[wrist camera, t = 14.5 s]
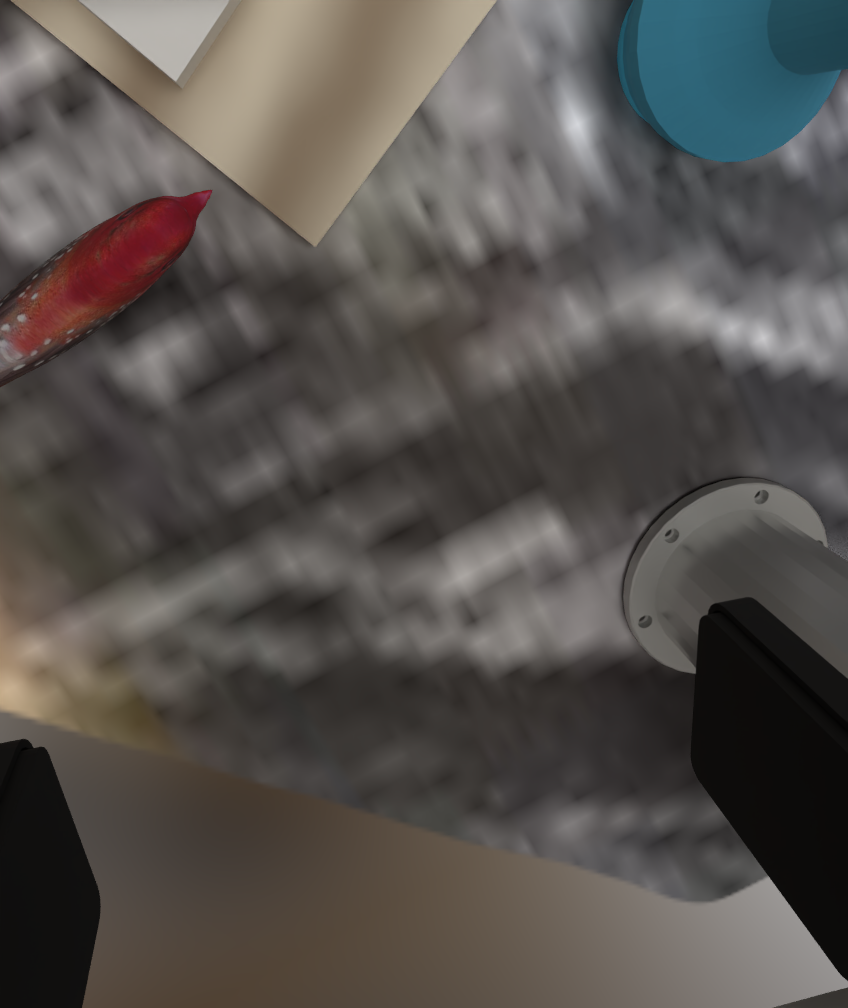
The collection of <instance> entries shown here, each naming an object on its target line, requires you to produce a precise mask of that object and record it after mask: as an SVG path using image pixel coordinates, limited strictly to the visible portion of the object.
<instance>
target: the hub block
mask: <svg viewBox="0 0 848 1008" xmlns="http://www.w3.org/2000/svg"><path fill="white" fill-rule="evenodd" d="M77 1H78V2H79V3H80V4H82V5H83V6H84V7H85V8H86V9H88V10H89V11H90V12H91V13H92V14H93V15H95V16H96V17H97V18H98V19H99V20H101V21H102V22H103V23H104V24H105V25H107V26H108V27H109V28H110V29H111V30H113V31H114V32H115V33H116V34H117V35H118V36H120V37H121V38H122V39H123V40H124V41H126V42H127V43H128V44H129V45H130V46H132V47H133V48H134V49H135V50H136V51H138V52H139V53H140V54H141V55H142V56H144V57H145V58H146V59H147V60H148V61H149V62H151V63H152V64H153V65H154V66H155V67H157V68H158V69H159V70H160V71H161V72H163V73H164V74H165V75H166V76H167V77H169V78H170V79H171V80H172V81H173V82H174V83H176V84H177V85H178V86H179V87H180V88H182V89H183V87H184V86H185V84H186V83H187V81H188V80H189V78H190V77H191V75H192V74H193V72H194V71H195V69H196V68H197V66H198V65H199V63H200V62H201V60H202V59H203V57H204V56H205V54H206V53H207V51H208V50H209V48H210V47H211V45H212V44H213V42H214V41H215V39H216V38H217V36H218V35H219V33H220V32H221V30H222V29H223V27H224V26H225V24H226V23H227V21H228V20H229V18H230V17H231V15H232V14H233V12H234V11H235V9H236V8H237V6H238V5H239V3H240V2H241V0H77Z"/></svg>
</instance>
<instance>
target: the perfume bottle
mask: <svg viewBox="0 0 848 1008" xmlns="http://www.w3.org/2000/svg"><path fill="white" fill-rule="evenodd" d="M617 64H618V72H619V78H620V82H621V85H622V88H623V92H624V94H625V95H626V97H627V99H628V101H629V103H630V105H631V106H632V107H633V109H634V110H635V111H636V112H637V114H638V115H639V116H640V117H641V118H643V119H644V120H645V121H647V122H648V123H649V124H650V125H651V126H652V127H653V129H654V130H655V131H656V132H657V133H658V134H659V135H660V136H662V137H663V138H664V139H665V140H667V141H668V142H669V143H670V144H672V145H673V146H674V147H676V148H677V149H679V150H681V151H683V152H685V153H688V154H690V155H692V156H694V157H699V158H704V159H709V160H715V161H720V162H736V161H746V160H749V159H753V158H756V157H760V156H763V155H765V154H767V153H769V152H771V151H773V150H775V149H777V148H779V147H781V146H783V145H784V144H785V143H786V142H788V141H789V140H790V139H792V138H793V137H794V136H795V135H797V134H798V133H799V132H800V131H801V130H802V129H803V128H804V127H805V126H806V125H807V124H808V123H809V122H810V121H811V120H812V118H813V117H814V116H815V115H816V114H817V113H818V111H819V110H820V108H821V107H822V105H823V104H824V102H825V101H826V99H827V98H828V96H829V95H830V93H831V91H832V89H833V87H834V85H835V82H836V80H837V78H838V76H839V74H840V72H841V70H843V69H848V0H633V2H632V3H631V5H630V7H629V9H628V10H627V13H626V16H625V18H624V21H623V23H622V26H621V31H620V36H619V40H618V52H617Z"/></svg>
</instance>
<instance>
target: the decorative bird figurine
mask: <svg viewBox="0 0 848 1008" xmlns="http://www.w3.org/2000/svg"><path fill="white" fill-rule="evenodd" d="M211 193H212V190H207V191H202V192H196V193H193V194H190V195H188V196H184V197H173V196H162V197H157V198H153V199H149V200H146V201H143V202H141V203H138V204H136V205H134V206H132V207H130V208H128V209H127V210H125V211H123V212H121V213H120V214H118V215H116V216H114V217H112V218H110V219H108V220H106V221H104V222H103V223H101V224H99V225H97V226H96V227H94V228H92V229H91V230H89V231H88V232H86V233H85V234H83V235H81V236H80V237H79V238H77V239H76V240H74V241H73V242H71V243H70V244H69V245H67V246H66V247H65V248H63V249H62V250H60V251H59V252H58V253H56V254H55V255H54V256H52V257H51V258H50V259H49V260H47V261H46V262H45V263H44V264H42V265H41V266H40V267H38V268H37V269H36V270H35V271H34V272H32V273H31V274H30V275H29V276H28V277H26V278H25V279H24V280H23V281H22V282H20V283H19V284H18V285H17V286H16V287H15V288H14V289H13V290H12V291H10V292H9V293H8V294H7V295H6V296H5V297H4V298H3V299H2V300H1V301H0V387H1V386H3V385H5V384H7V383H9V382H11V381H12V380H14V379H16V378H18V377H20V376H22V375H24V374H26V373H28V372H30V371H32V370H34V369H36V368H38V367H40V366H42V365H43V364H45V363H47V362H49V361H51V360H52V359H54V358H56V357H57V356H59V355H60V354H62V353H64V352H65V351H67V350H69V349H70V348H72V347H73V346H75V345H76V344H78V343H79V342H81V341H82V340H84V339H85V338H87V337H88V336H90V335H91V334H92V333H94V332H95V331H97V330H98V329H99V328H101V327H102V326H103V325H105V324H106V323H107V322H109V321H110V320H112V319H113V318H114V317H115V316H117V315H118V314H119V313H120V312H122V311H123V310H124V309H126V308H127V307H128V306H129V305H130V304H132V303H133V302H134V301H135V300H136V299H138V298H139V297H140V296H141V295H142V294H143V293H144V292H145V291H146V290H148V289H149V288H150V287H151V286H152V285H153V284H154V283H155V282H156V281H157V280H158V279H159V278H160V276H161V275H162V274H163V273H164V272H165V271H166V270H167V269H168V268H169V267H170V266H171V265H172V264H173V263H174V262H175V261H176V260H177V259H178V258H179V257H180V256H181V254H182V253H183V252H184V250H185V249H186V247H187V246H188V244H189V242H190V240H191V238H192V236H193V234H194V231H195V227H196V220H197V218H198V215H199V214H200V212H201V211H202V210H203V208H204V207H205V205H206V203H207V201H208V199H209V198H210V195H211Z"/></svg>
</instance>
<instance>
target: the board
mask: <svg viewBox="0 0 848 1008" xmlns="http://www.w3.org/2000/svg"><path fill="white" fill-rule="evenodd" d="M11 1H12V2H13V3H14V4H16V5H17V6H18V7H19V8H21V9H22V10H23V11H24V12H26V13H27V14H28V15H29V16H30V17H32V18H33V19H34V20H35V21H37V22H38V23H39V24H40V25H42V26H43V27H44V28H45V29H47V30H48V31H49V32H50V33H51V34H53V35H54V36H55V37H56V38H58V39H59V40H60V41H61V42H63V43H64V44H65V45H66V46H68V47H69V48H70V49H71V50H72V51H74V52H75V53H76V54H77V55H79V56H80V57H81V58H82V59H84V60H85V61H86V62H87V63H88V64H90V65H91V66H92V67H93V68H95V69H96V70H97V71H98V72H100V73H101V74H102V75H103V76H105V77H106V78H107V79H108V80H109V81H111V82H112V83H113V84H114V85H116V86H117V87H118V88H119V89H121V90H122V91H123V92H124V93H126V94H127V95H128V96H129V97H130V98H132V99H133V100H134V101H135V102H137V103H138V104H139V105H140V106H142V107H143V108H144V109H145V110H146V111H148V112H149V113H150V114H151V115H153V116H154V117H155V118H156V119H158V120H159V121H160V122H161V123H163V124H164V125H165V126H166V127H167V128H169V129H170V130H171V131H172V132H174V133H175V134H176V135H177V136H179V137H180V138H181V139H182V140H183V141H185V142H186V143H187V144H188V145H190V146H191V147H192V148H193V149H195V150H196V151H197V152H198V153H200V154H201V155H202V156H203V157H204V158H206V159H207V160H208V161H209V162H211V163H212V164H213V165H214V166H216V167H217V168H218V169H219V170H221V171H222V172H223V173H224V174H225V175H227V176H228V177H229V178H230V179H232V180H233V181H234V182H235V183H237V184H238V185H239V186H240V187H241V188H243V189H244V190H245V191H246V192H248V193H249V194H250V195H251V196H253V197H254V198H255V199H256V200H258V201H259V202H260V203H261V204H262V205H264V206H265V207H266V208H267V209H269V210H270V211H271V212H272V213H274V214H275V215H276V216H277V217H279V218H280V219H281V220H282V221H283V222H285V223H286V224H287V225H288V226H290V227H291V228H292V229H293V230H295V231H296V232H297V233H298V234H299V235H301V236H302V237H303V238H304V239H306V240H307V241H308V242H309V243H311V244H312V245H313V246H314V247H316V246H317V244H318V243H319V242H320V240H321V239H322V238H323V236H324V235H325V234H326V232H327V231H328V229H329V228H330V227H331V225H332V224H333V223H334V221H335V220H336V219H337V217H338V216H339V215H340V213H341V212H342V210H343V209H344V208H345V206H346V205H347V204H348V202H349V201H350V200H351V198H352V197H353V195H354V194H355V193H356V191H357V190H358V189H359V187H360V186H361V185H362V183H363V182H364V181H365V179H366V178H367V176H368V175H369V174H370V172H371V171H372V170H373V168H374V167H375V166H376V164H377V163H378V161H379V160H380V159H381V157H382V156H383V155H384V153H385V152H386V151H387V149H388V148H389V146H390V145H391V144H392V142H393V141H394V140H395V138H396V137H397V136H398V134H399V133H400V132H401V130H402V129H403V127H404V126H405V125H406V123H407V122H408V121H409V119H410V118H411V117H412V115H413V114H414V112H415V111H416V110H417V108H418V107H419V106H420V104H421V103H422V102H423V100H424V99H425V97H426V96H427V95H428V93H429V92H430V91H431V89H432V88H433V87H434V85H435V84H436V83H437V81H438V80H439V78H440V77H441V76H442V74H443V73H444V72H445V70H446V69H447V68H448V66H449V65H450V63H451V62H452V61H453V59H454V58H455V57H456V55H457V54H458V53H459V51H460V50H461V48H462V47H463V46H464V44H465V43H466V42H467V40H468V39H469V38H470V36H471V35H472V34H473V32H474V31H475V29H476V28H477V27H478V25H479V24H480V23H481V21H482V20H483V19H484V17H485V16H486V14H487V13H488V12H489V10H490V9H491V8H492V6H493V5H494V4H495V2H496V1H497V0H241V2H240V3H239V5H238V6H237V8H236V9H235V11H234V12H233V14H232V15H231V17H230V18H229V20H228V21H227V23H226V24H225V26H224V27H223V29H222V30H221V32H220V33H219V35H218V36H217V38H216V39H215V41H214V42H213V44H212V45H211V47H210V48H209V50H208V51H207V53H206V54H205V56H204V57H203V59H202V60H201V62H200V63H199V65H198V66H197V68H196V69H195V71H194V72H193V74H192V75H191V77H190V78H189V80H188V81H187V83H186V84H185V86H184V87H183V89H182V88H180V87H179V86H178V85H177V84H176V83H174V82H173V81H172V80H171V79H170V78H169V77H167V76H166V75H165V74H164V73H163V72H161V71H160V70H159V69H158V68H157V67H155V66H154V65H153V64H152V63H151V62H149V61H148V60H147V59H146V58H145V57H144V56H142V55H141V54H140V53H139V52H138V51H136V50H135V49H134V48H133V47H132V46H130V45H129V44H128V43H127V42H126V41H124V40H123V39H122V38H121V37H120V36H118V35H117V34H116V33H115V32H114V31H113V30H111V29H110V28H109V27H108V26H107V25H105V24H104V23H103V22H102V21H101V20H99V19H98V18H97V17H96V16H95V15H93V14H92V13H91V12H90V11H89V10H88V9H86V8H85V7H84V6H83V5H82V4H80V3H79V2H78V1H77V0H11Z"/></svg>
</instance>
